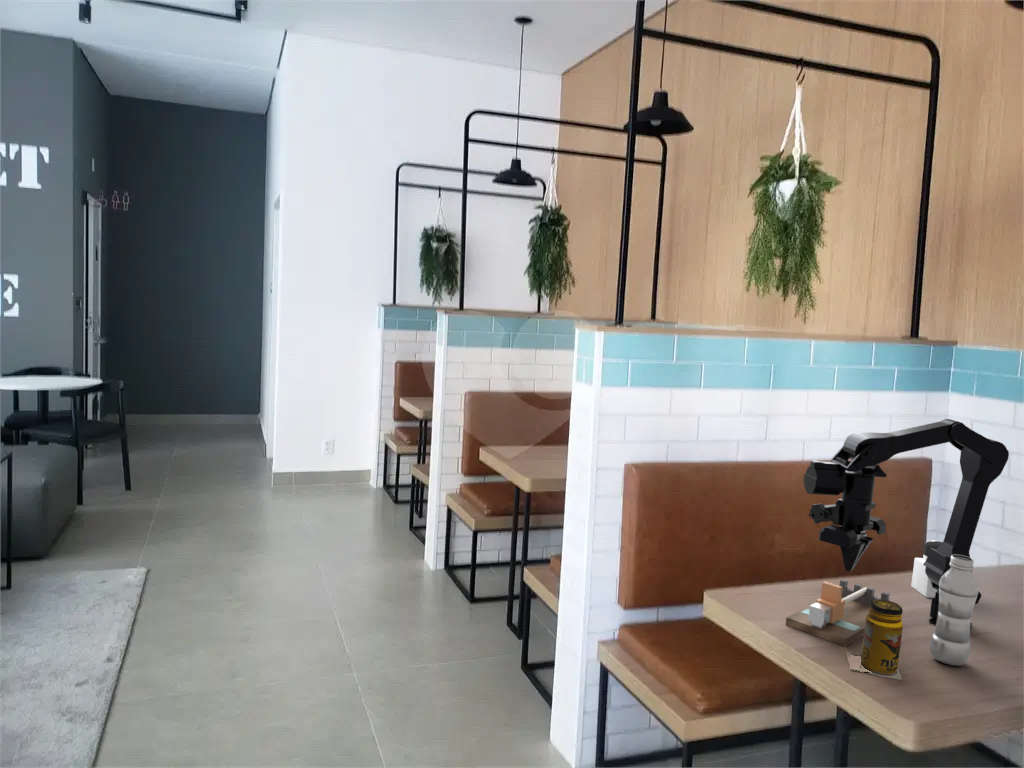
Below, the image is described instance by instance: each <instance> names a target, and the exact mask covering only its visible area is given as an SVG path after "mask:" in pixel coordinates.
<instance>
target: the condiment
mask: <svg viewBox="0 0 1024 768" xmlns="http://www.w3.org/2000/svg"><path fill="white" fill-rule="evenodd" d="M903 612H904V611H903V608H902V605H900V604H899V603H897V602H893V601H890V600H889V601H887V600H882V599H877V600H873V601H871V603H870V609H869V614H868V615H867V616H866V623H865V631H864V635H863V638H862V639H863V640H862V650H861V654H856V653H853V652H847V651H846V652H845V654H846V656H847V655H848V656H849V655H854V656H858V655H859V656H861V655H862V656H861V660H862V661H861V665H862V666H863V667H864V668H865V669H867V670H869V671H871V672H872V673H869V675H874V676H878V677H884V678H888V679H894V680H899V681H900V680H903V678H902V675H901V673H900V670H899V668H898V667H899V661H900V652H901V647H902V637H903V629H904V623H903V620H902V619H903ZM849 657H850V656H849ZM860 668H861V667H860ZM860 668H859V669H858V670H859V671H860V673H864V672H866V671H863V670H860ZM853 669H854V668H853ZM849 671H852V670H851V669H850V668H849ZM854 671H855V670H854ZM855 672H856V671H855ZM873 673H874V674H873Z"/></svg>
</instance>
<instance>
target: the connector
mask: <svg viewBox="0 0 1024 768" xmlns="http://www.w3.org/2000/svg"><path fill="white" fill-rule="evenodd" d="M809 606H810V611H809V619H808V620H809V621H812V626H815V627H817V628H820V629H822V628H824V627H826V624H827V623H829V622H830V619H831V610H832V607H830V606H827V605H824V604H821V603H818V602H816V601H815V603H812V604H811V605H809Z"/></svg>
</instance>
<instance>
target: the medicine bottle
mask: <svg viewBox="0 0 1024 768" xmlns="http://www.w3.org/2000/svg"><path fill="white" fill-rule="evenodd" d="M942 543H943V540H937V539H936V540H935V539H934V540H933V539H932V540H931V539H930V540H927V541H925V542H924V550H923V557H914V561H913V570H912V577H911V583H910V586H911V588H913V589H914V590H916V591H917V592H918V593H920V594H921V595H922V596H923V597H925V598H926V599H927V598H929V599H932V598H934V597H935V593H936V592H937V591H938V590H936V589H934V588H933V587H932V585H931V580H930V579H929V578H928V577H927V575H926V573H925V569H926V566H924V565H923V564H924V563H925V561H926V559H927V556H928V550H929V548H933V549H937V548H938V547H939V546H940V545H941V544H942Z"/></svg>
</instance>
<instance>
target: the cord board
mask: <svg viewBox="0 0 1024 768" xmlns="http://www.w3.org/2000/svg"><path fill="white" fill-rule="evenodd" d="M843 598H844V597H842V598H841V599H843ZM869 609H870V606H869V605H866V604H863V603H860V602H856V601H851V602H849V603H847V604H845V606H844V614H843V618H841V619H839V620H838V621H836V622H834V623H827V624H826V627H824V628H822V629H820V628H817V627H815V626H812V621H809V620H808V619H809V611H810V605H809V606H807V607H804V608H803V609H800V610H798V611H796V612H794V613H792V614H790V615H787V617H785V625H786V626H790V627H792V628H794V629H797V630H800V631H803V632H805V633H808V634H810V633H811V635H813V636H815V635H816V636H815V637H818V636H819V638H821V639H823V640H826V639H827V640H826V641H828V642H829V641H830V642H832V643H834V642H835V644H837V643H838V645H841V646H842V645H843V647H846V646H848V645H849V644H851V643H852V641H853V640H854V641H856V640H858V639H859V638H861V637H863V636H864V631H865V623H866V616H867V615H868V614H869ZM862 635H863V636H862ZM860 636H861V637H860ZM857 638H858V639H857ZM855 639H856V640H855ZM854 641H853V642H854ZM850 642H851V643H850ZM848 643H849V644H848ZM847 644H848V645H847ZM845 645H846V646H845Z"/></svg>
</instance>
